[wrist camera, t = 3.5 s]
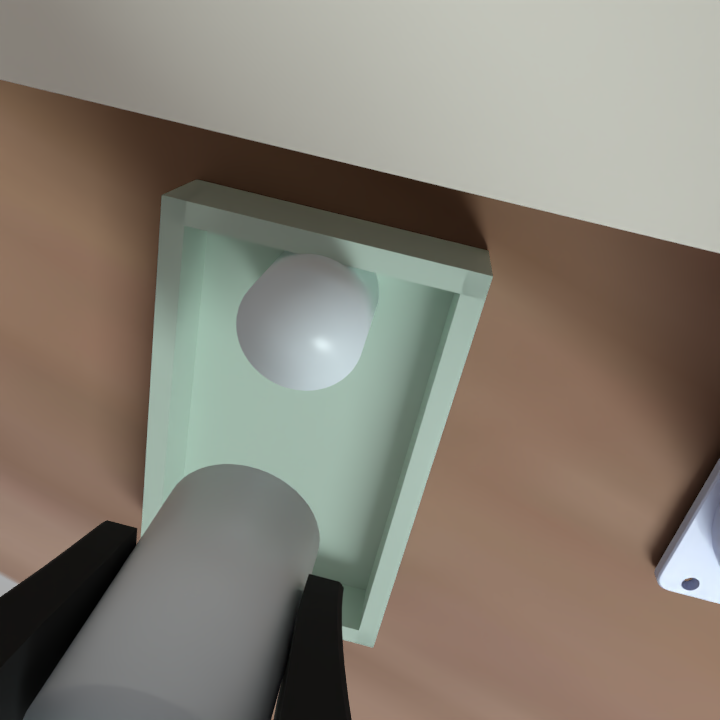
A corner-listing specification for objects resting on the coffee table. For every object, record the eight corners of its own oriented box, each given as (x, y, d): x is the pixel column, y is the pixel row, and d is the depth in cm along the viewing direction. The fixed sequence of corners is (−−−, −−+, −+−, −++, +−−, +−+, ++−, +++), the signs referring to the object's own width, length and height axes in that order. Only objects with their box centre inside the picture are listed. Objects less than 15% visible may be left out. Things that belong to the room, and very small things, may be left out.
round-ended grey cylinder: (309, 603, 14) (240, 856, 10) (164, 570, 14) (31, 803, 10) (329, 484, 12) (260, 719, 8) (167, 448, 13) (10, 658, 8)
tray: (488, 250, 16) (496, 295, 13) (380, 595, 22) (367, 683, 19) (196, 179, 17) (136, 206, 13) (165, 538, 22) (118, 616, 19)
